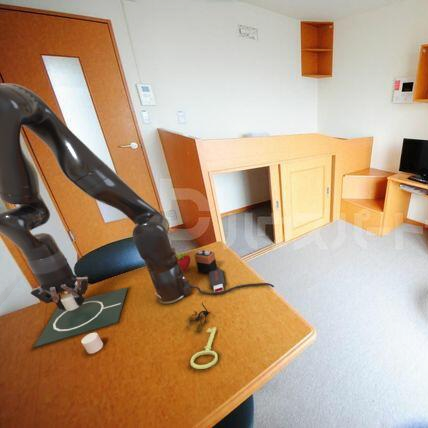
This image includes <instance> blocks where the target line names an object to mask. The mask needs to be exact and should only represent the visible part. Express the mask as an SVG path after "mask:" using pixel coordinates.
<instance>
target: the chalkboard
mask: <svg viewBox="0 0 428 428" xmlns="http://www.w3.org/2000/svg"><path fill="white" fill-rule="evenodd" d="M128 290H129V288H128V287H123V288H120V289H116V290H111V291H109V292H103V293H101V294H97V295H92V296H88V297H85V298H84V302H83V304H82V305H81V306H79V307H78V308H76V309H74V310H71V311H67V310H66V309H65V310H62V309H59V308H58V307H56V309H55V311H54V313H52V314H53V315H52V316H51V318H50V319H49V321H48V323H47V324H46V326H45V327H44V329H43V331H42V332H41V334H40V336H39V337H38V339H37V341H36V342H35V344H34V345H33V348H34V349H36V348H40V347H43V346H46V345H49V344H53V343H57V342H60V341H62V340H67V339H70V338H73V337H76V336H79V335H82V334H86V333H89V332H92V331H95V330H99V329H102V328H105V327H108V326H112V325H115V324H118V323H119V320H120V317H121V314H122V311H123V307H124V304H125V301H126V296H127V294H128Z"/></svg>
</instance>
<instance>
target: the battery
mask: <svg viewBox="0 0 428 428" xmlns="http://www.w3.org/2000/svg"><path fill="white" fill-rule="evenodd" d="M194 260H195V264H196V269H197V272H198V273H201V274H207V275H209V272H210V271H214V270H218V265H217V259H216V256H215V252H214V251H210V250H204V249H199V250H198V251H197V252H196V253H195V254H194Z"/></svg>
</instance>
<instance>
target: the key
mask: <svg viewBox="0 0 428 428" xmlns="http://www.w3.org/2000/svg"><path fill="white" fill-rule="evenodd" d="M216 331H217V327H216V326H214V327H212V328H207V330H206V333H209V334H210V335H209V336H208V340H207V343H206V345H205V346H204V350H200V351H198V352H195V353H194V354H193V355H192V357H191V358H190V361H189V362H190V366H191V368H193V369H196V370H203V369H204V370H205V369H208V368H212V367H213V366H214V365H216V363H218V361H219V359H218V358H219V356H218V353H217V352H216V351H214V350H212V344H213V341H214V337H215V334H216ZM206 355H211V356H214V358H213V360H211V361H210V362H208V363H206V364H197V363H195V360H196V359H197V358H198V357H200V356H206Z"/></svg>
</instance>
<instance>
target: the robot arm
mask: <svg viewBox="0 0 428 428" xmlns="http://www.w3.org/2000/svg"><path fill="white" fill-rule="evenodd" d="M22 127H25V128H26V129H28V131H30V132H32V133H33V135H35V136H36V137H37V138H38V139H39V140H41V142H43V143H44V144H45V145H46V147H47V148H48V149H49V150H50V152H51V153H52V155H53V157H54V160H55V161H56V163H57V165H58V167H59V169H60V171H61V173H62V174H63V175H64V176H65V178H66V179H67V180H68V181H69V182H70V183H71V184H73V185H74V186H76V187H77V188H78V189H79V190H80V191H82V192H83V193H84V194H85V195H87V196H88V197H90V198H92V199H93V200H96V201H97V202H99V203H102V204H104V205H107V206H109V207H112V208H114V209H116V210H118V211H120V212H121V213H122V214H124V215H125V216H126V217H127V218H128V220H130V221H131V222H132V223H133V224H134V227H133V228H132V232H131V234H132V240H133V242H134V245H135V247H136V249H137V252H138V254H139V256H140V258H141V260H143V261H144V263H145V266H146V269H147V271H148V274H149V276H150V279H151V282H152V285H153V287H154V290H155V291H154V296H157V299H158V302H159V303H160V304H162V305H171V304H174V303H177V302H179V301H181V300H183V298H186V297H187V296H188V295H189V294H191V293H192V289H197V290H198V293H200V294H202V295H206V296H207V295H209V296H213V295H220V294H225V293H228V292H231V291H233V290H235V289H239V288H245V287H252V286H253V287H255V286H269V287H271V288H275V286H274V284H271V283H268V282H260V283H259V282H258V283H245V284H239V285H236V286H233V287H231V288H228V289H225V290H223V291H220V292H214V291H213V292H207V291H206V292H205V291H202V290H201V288H200V287H199V286H197V285H191V283H190V280H186V279H185V276H184V273H183V272H184V271H182V269H181V268H180V266H179V262H178V259H177V257H178V256H176V255H177V253H176V250H175V247H174V246H172V244H171V241H170V238H169V236H168V233H169V230H170V222H169V220H168V218H167V217H166V216H165V215H164V214H163V213H161V212H160V211H158V210H157V208H154V207H153V206H152V205H151V204H149V203H148V202H147V201H146V200H144V199H143V198H142V197H141V196H140V195H139V194H138V193H137V192H136V191H135V190H134V189H133V188H132V187H131V186H130V185H128V183H126V181H124V180H123V179H122V178H121V176H119V175H118V174H117V172H115V171H114V170H113V169H112V168H111V167H110V166H109V165H108V164H106V163H105V162H104V160H102V159H101V158H100V157H99V156H98V155H96V153H94V152H93V151H92V150H91V148H90V147H88V145H86V144H85V143H84V142H83V141H82V140H81V139H80V138H79V137H78V136H77V135H76V134H75V133H74V132H73V131H72V130H70V128H69V127H68V126H67V125H66V124H65V122H63V121H62V119H60V117H59V116H58V115H57V113H55V112H54V110H53V109H52V108H51V107H50V106H49V105H48V103H46V102H45V101H44V100H43V98H41V97H40V96H39V95H38V94H37V93H36V92H34V91H33V90H31V89H29V88H27V87H25V86H23V85H20V84H17V83H11V82H10V83H7V82H4V83H0V200H1V201H2V202H4V203H6V204H9V205H17V206H15V207H13V208H10V209H7V210H4V211H2V212H0V234H1V235H2V236H3V237H5V238H6V239H8V241H10V242H11V243H12V244H14V245H15V246H16V247H17V248H19V250H20V251H21V253H22V255H23V257H24V258H25V259H26V260H25V261H26V262H27V265H28V267H29V269H30V270H31V272H32V273H33V275H34V277H35V278H36V280H37V282H38V283H39V284H40V286H35V287H34V288H33V289H32V290H31V292H30V295H32V296H34V297H35V298H36V299H38V300H40V301H42V302H43V303H44V304H50V303H54V304H55V305H56V306H57V307H56V308H59V309H62V310H65V307H64V305H63V304H62V302H61V298H62V293H64V292H67V293H68V294H72V295H73V296H74V297H75V298H74V299H75V301H76V302H77V304H78V306H81V305H82V304H83V302H84V299H85V298H84V295H86V292H87V291H88V289H89V288H88V286H89V277H90V276H89V275H84V276H83V277H82V276H81V277H80V276H79V277H78V276H77V275H75V274H74V272H73V269H72V268H71V266H70V264H69V261H68V259H67V257H65V254H64V253H63V251H62V250H61V249H60V247H59V245H58V243H57V242H56V240H55V238H54V237H53V235H52V234H50V233H46V232H42V233H41V232H40V233H36V234H35V233H34V234H33V233H32V232H31V231H33V230H35V229H37V228H39V227H42V226H44V225H46V224H47V223H48V222H49V220H50V217H51V212H50V210H49V207H48V206H47V203H46V202H45V200H44V198H43V197H42V195H41V189H40V181H39V175H38V172H37V168H36V167H35V166H34V164H33V162H31V160H30V159H29V158H28V157H27V155H26V153H25V152H24V150H23V148H22V144H21V131H22ZM76 282H78V284H79V285H80V288H79V287H78V286H79V285H77V284H76ZM49 292H50V293H49Z"/></svg>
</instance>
